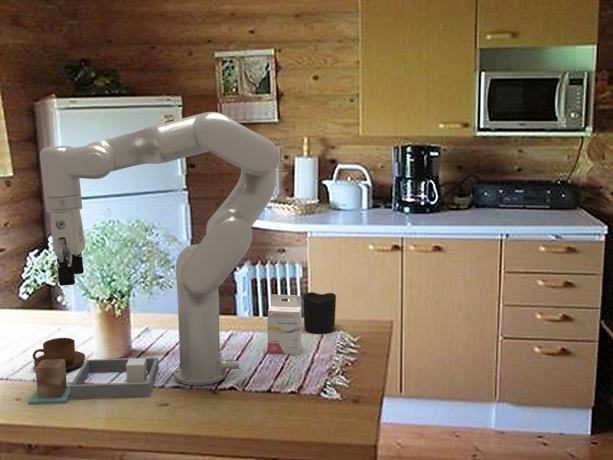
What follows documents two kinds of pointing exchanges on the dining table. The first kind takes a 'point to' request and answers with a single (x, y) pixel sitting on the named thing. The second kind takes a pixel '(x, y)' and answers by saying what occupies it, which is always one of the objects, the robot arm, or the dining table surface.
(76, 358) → the cup and saucer
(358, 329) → the dining table surface
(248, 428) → the dining table surface
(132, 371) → the pale grey block
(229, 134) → the robot arm
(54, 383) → the walnut block
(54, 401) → the pad
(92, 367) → the grey square frame
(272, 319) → the ink cartridge box
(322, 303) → the pen holder
